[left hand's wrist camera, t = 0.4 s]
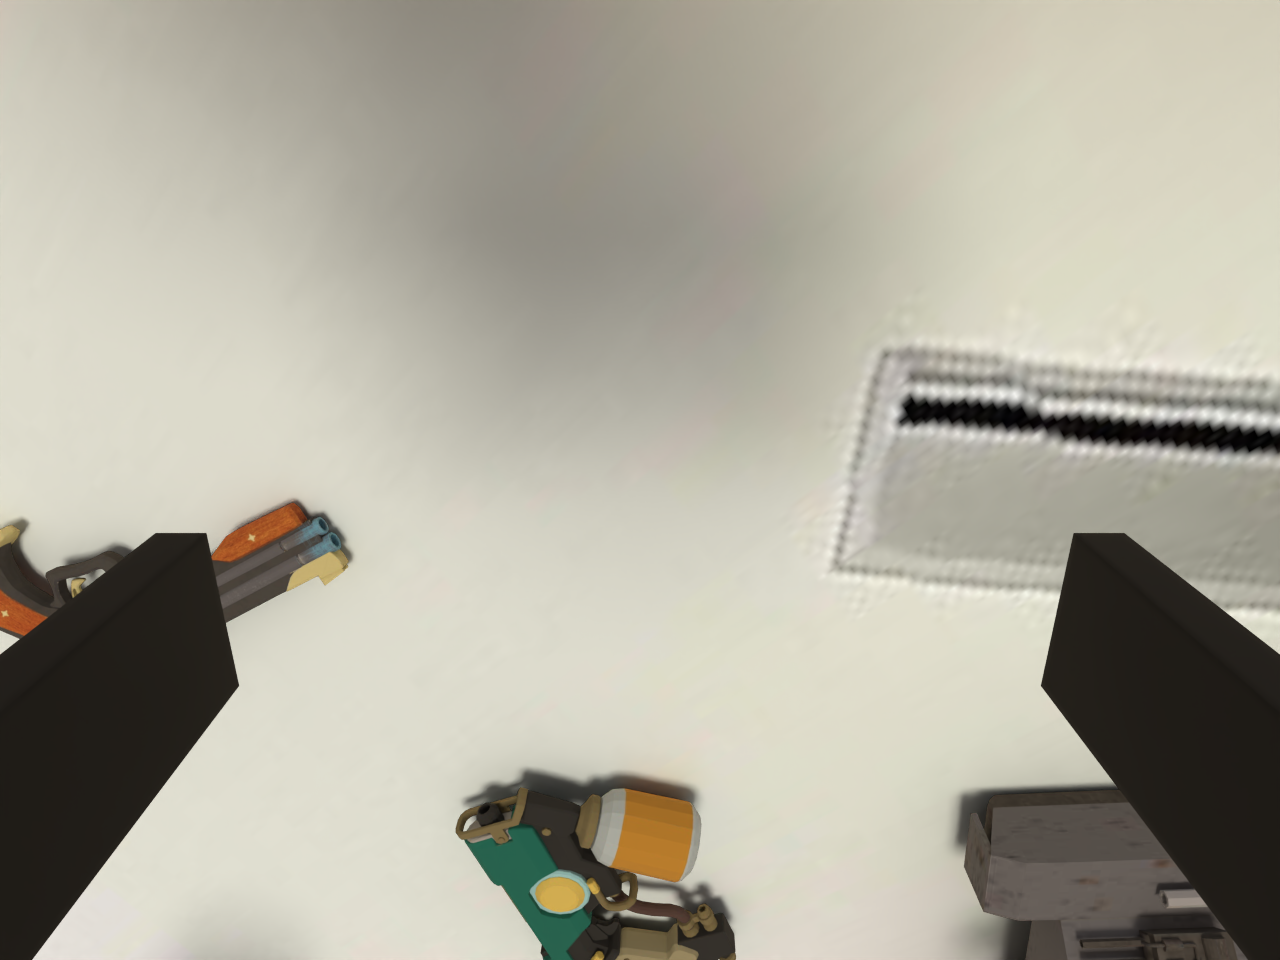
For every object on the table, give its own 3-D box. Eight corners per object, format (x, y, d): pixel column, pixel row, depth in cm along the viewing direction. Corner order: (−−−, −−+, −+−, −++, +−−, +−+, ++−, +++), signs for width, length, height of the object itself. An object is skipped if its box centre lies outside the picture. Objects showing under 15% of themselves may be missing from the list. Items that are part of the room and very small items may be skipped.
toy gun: (-97, 580, 40) (31, 743, 42) (227, 398, 38) (345, 578, 40) (-52, 562, 43) (66, 715, 45) (254, 391, 41) (362, 559, 43)
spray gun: (735, 949, 53) (508, 959, 54) (718, 754, 46) (458, 770, 47) (741, 1016, 50) (496, 1025, 51) (723, 814, 42) (440, 829, 44)
